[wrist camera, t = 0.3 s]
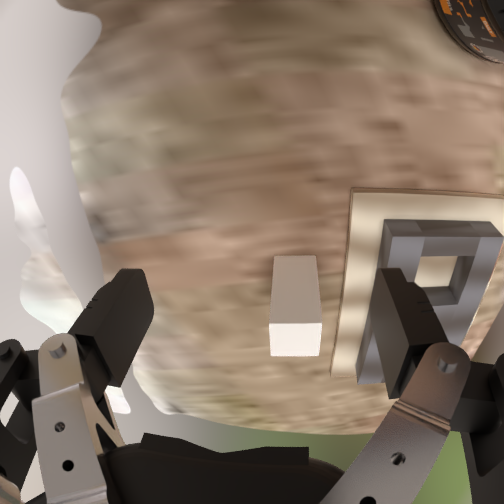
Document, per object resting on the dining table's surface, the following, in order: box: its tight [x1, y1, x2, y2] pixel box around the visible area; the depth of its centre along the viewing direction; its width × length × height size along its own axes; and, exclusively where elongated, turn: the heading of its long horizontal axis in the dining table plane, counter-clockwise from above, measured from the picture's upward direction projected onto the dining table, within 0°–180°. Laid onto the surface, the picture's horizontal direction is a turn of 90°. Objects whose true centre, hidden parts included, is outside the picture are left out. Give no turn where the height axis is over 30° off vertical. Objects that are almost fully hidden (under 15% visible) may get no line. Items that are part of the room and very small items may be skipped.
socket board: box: [330, 188, 504, 384], centre depth 31 cm, size 26×18×4 cm
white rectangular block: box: [269, 255, 322, 356], centre depth 29 cm, size 4×4×9 cm
